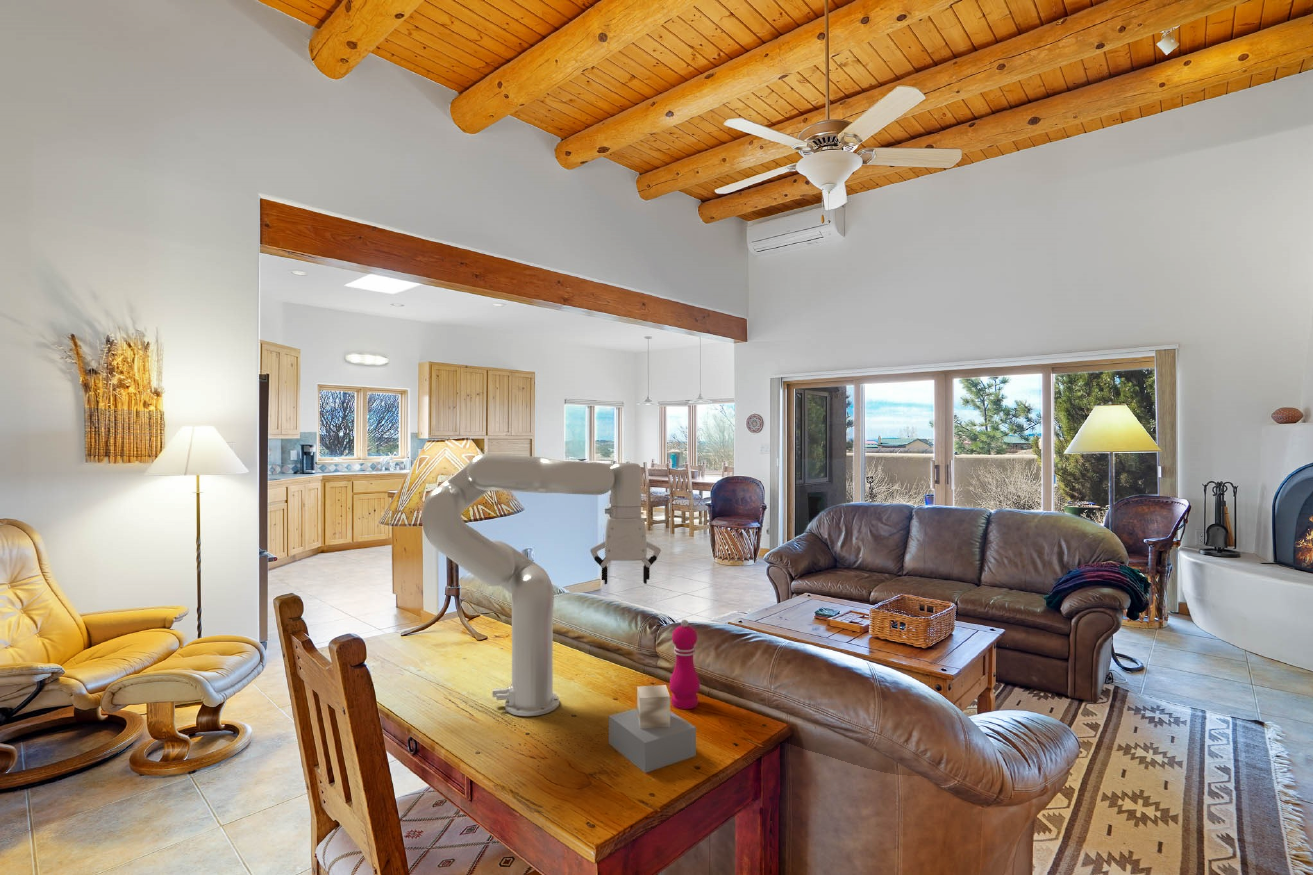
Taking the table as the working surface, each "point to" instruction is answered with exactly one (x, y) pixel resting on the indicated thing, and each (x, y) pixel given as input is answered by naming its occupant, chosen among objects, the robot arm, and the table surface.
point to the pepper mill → (684, 668)
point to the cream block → (653, 706)
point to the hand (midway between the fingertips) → (625, 582)
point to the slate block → (652, 740)
